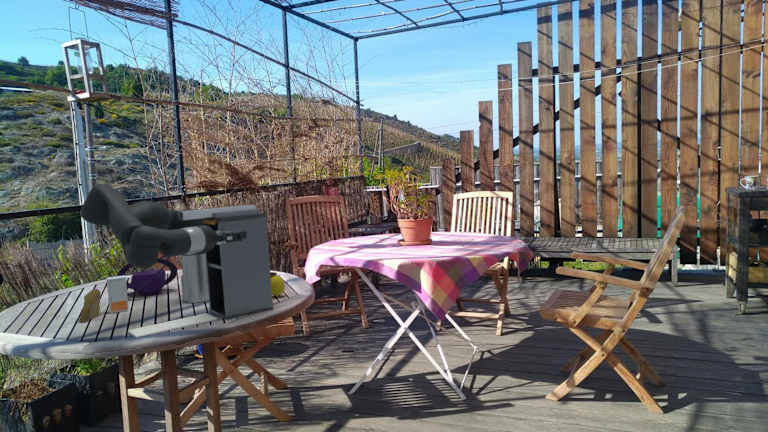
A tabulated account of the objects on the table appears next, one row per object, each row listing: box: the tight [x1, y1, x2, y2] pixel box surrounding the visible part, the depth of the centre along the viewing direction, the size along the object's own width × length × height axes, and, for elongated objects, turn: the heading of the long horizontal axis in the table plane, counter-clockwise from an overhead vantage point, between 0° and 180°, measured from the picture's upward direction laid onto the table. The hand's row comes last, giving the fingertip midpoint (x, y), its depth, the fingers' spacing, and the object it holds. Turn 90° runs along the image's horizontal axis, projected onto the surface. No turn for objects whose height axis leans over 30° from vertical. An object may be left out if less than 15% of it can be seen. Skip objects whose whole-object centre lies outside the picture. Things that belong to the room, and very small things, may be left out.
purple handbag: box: [116, 255, 178, 297], centre depth 213 cm, size 22×21×25 cm
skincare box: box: [106, 274, 130, 314], centre depth 188 cm, size 6×4×12 cm
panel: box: [178, 204, 257, 220], centre depth 174 cm, size 24×4×2 cm, turn 129°
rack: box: [202, 208, 274, 320], centre depth 178 cm, size 17×14×33 cm
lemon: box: [271, 275, 285, 298], centre depth 196 cm, size 6×6×8 cm
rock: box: [78, 288, 101, 323], centre depth 180 cm, size 10×8×10 cm
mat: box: [127, 312, 219, 339], centre depth 166 cm, size 24×9×1 cm, turn 129°
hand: (234, 234), depth 164 cm, fingers open, 8 cm apart
